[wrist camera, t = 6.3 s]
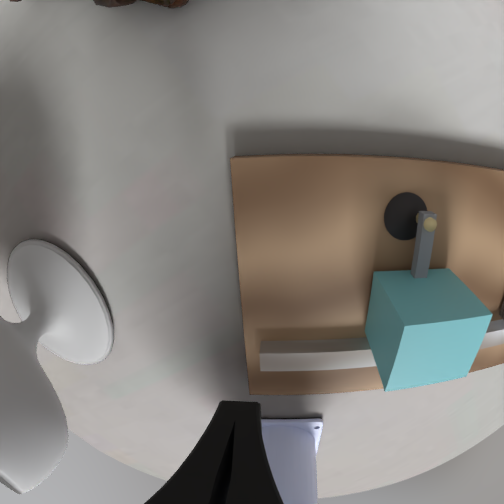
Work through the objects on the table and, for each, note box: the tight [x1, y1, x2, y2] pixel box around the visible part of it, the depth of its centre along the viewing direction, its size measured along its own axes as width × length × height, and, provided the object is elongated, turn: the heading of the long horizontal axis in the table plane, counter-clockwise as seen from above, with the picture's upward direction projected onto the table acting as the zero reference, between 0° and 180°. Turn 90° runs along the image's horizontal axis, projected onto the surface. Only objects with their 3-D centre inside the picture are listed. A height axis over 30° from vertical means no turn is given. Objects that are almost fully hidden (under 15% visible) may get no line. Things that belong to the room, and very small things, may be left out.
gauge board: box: [230, 154, 504, 395], centre depth 16 cm, size 16×24×3 cm, turn 93°
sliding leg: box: [365, 211, 493, 391], centre depth 13 cm, size 8×5×5 cm, turn 3°
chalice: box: [0, 239, 114, 494], centre depth 14 cm, size 14×14×15 cm
